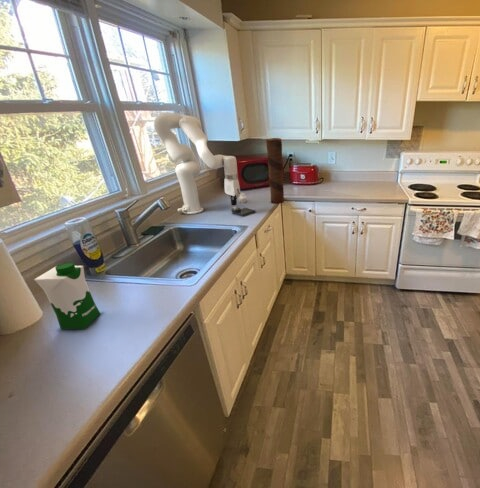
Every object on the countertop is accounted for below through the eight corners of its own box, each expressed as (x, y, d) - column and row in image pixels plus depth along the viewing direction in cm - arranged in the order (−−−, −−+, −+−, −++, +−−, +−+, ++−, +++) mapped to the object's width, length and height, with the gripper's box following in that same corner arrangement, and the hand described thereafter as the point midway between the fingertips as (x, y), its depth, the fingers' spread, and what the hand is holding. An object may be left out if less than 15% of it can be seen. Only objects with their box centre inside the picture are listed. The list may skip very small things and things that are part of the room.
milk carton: (86, 330, 84) (60, 273, 76) (54, 331, 83) (25, 274, 75) (105, 312, 92) (84, 258, 83) (76, 312, 91) (52, 258, 83)
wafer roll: (281, 204, 204) (277, 139, 185) (268, 203, 207) (263, 138, 188) (287, 200, 213) (284, 137, 194) (274, 199, 216) (270, 137, 197)
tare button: (235, 210, 181) (235, 208, 181) (232, 209, 183) (232, 207, 182) (239, 209, 184) (238, 207, 183) (236, 208, 185) (235, 206, 184)
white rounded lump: (239, 201, 210) (238, 192, 207) (248, 201, 211) (247, 192, 208) (238, 203, 205) (237, 194, 202) (246, 203, 205) (245, 194, 202)
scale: (241, 217, 178) (241, 212, 177) (230, 213, 184) (229, 209, 182) (255, 212, 187) (255, 207, 186) (244, 209, 193) (243, 204, 191)
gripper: (218, 175, 175) (221, 204, 183) (234, 179, 168) (237, 208, 175) (228, 174, 181) (231, 201, 189) (244, 177, 173) (246, 206, 181)
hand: (234, 204), depth 182 cm, fingers closed
